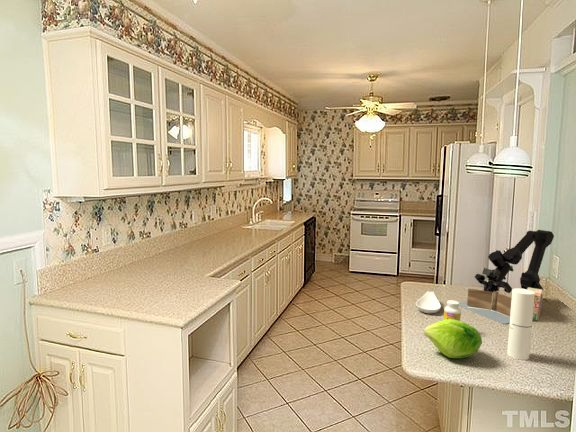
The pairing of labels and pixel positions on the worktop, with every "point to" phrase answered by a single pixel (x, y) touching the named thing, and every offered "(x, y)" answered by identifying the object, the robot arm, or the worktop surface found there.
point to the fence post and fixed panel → (501, 303)
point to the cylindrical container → (520, 323)
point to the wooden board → (479, 298)
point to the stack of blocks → (537, 302)
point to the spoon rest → (428, 303)
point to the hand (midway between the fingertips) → (483, 295)
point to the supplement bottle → (452, 310)
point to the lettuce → (454, 338)
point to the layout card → (488, 313)
